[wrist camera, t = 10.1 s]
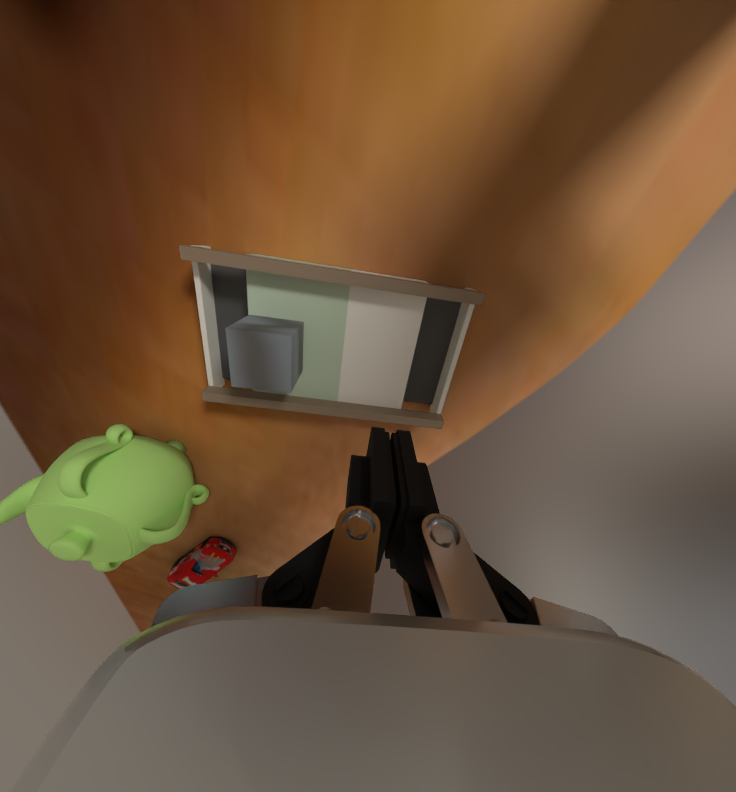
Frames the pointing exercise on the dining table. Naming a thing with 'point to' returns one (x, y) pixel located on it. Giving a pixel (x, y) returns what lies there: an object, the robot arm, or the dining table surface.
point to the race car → (201, 563)
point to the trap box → (336, 334)
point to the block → (265, 353)
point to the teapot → (109, 498)
